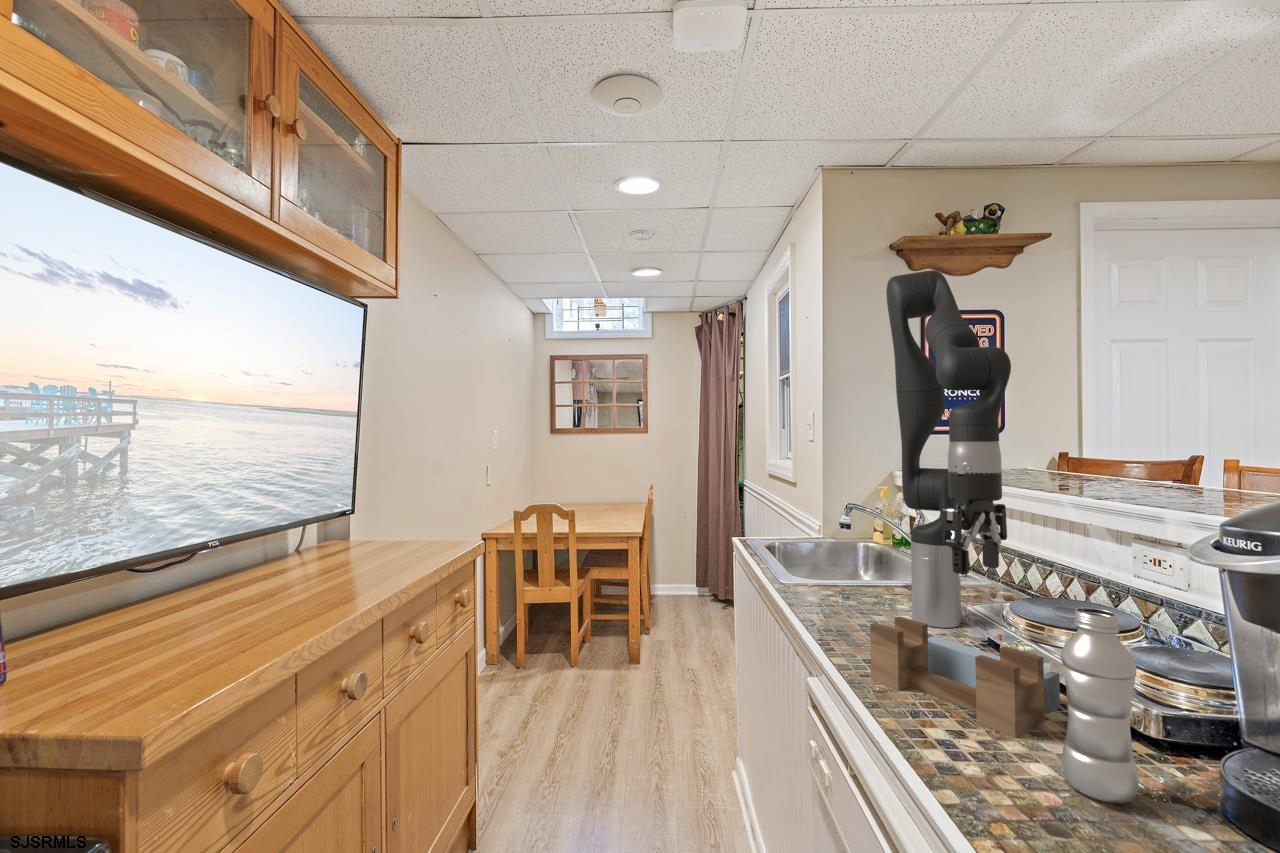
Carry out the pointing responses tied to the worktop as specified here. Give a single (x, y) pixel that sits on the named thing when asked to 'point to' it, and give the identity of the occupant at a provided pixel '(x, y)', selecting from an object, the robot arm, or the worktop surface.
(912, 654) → the wooden notched stand
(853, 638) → the worktop surface
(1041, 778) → the worktop surface
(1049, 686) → the rail
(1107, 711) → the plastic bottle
